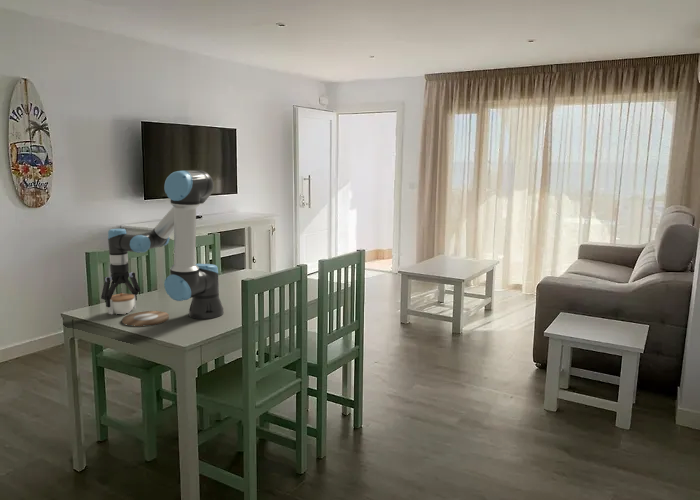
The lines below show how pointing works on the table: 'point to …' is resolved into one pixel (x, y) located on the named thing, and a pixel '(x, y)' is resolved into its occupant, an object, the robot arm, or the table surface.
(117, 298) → the lidded jar
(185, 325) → the table surface
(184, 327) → the table surface
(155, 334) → the table surface
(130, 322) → the plate
